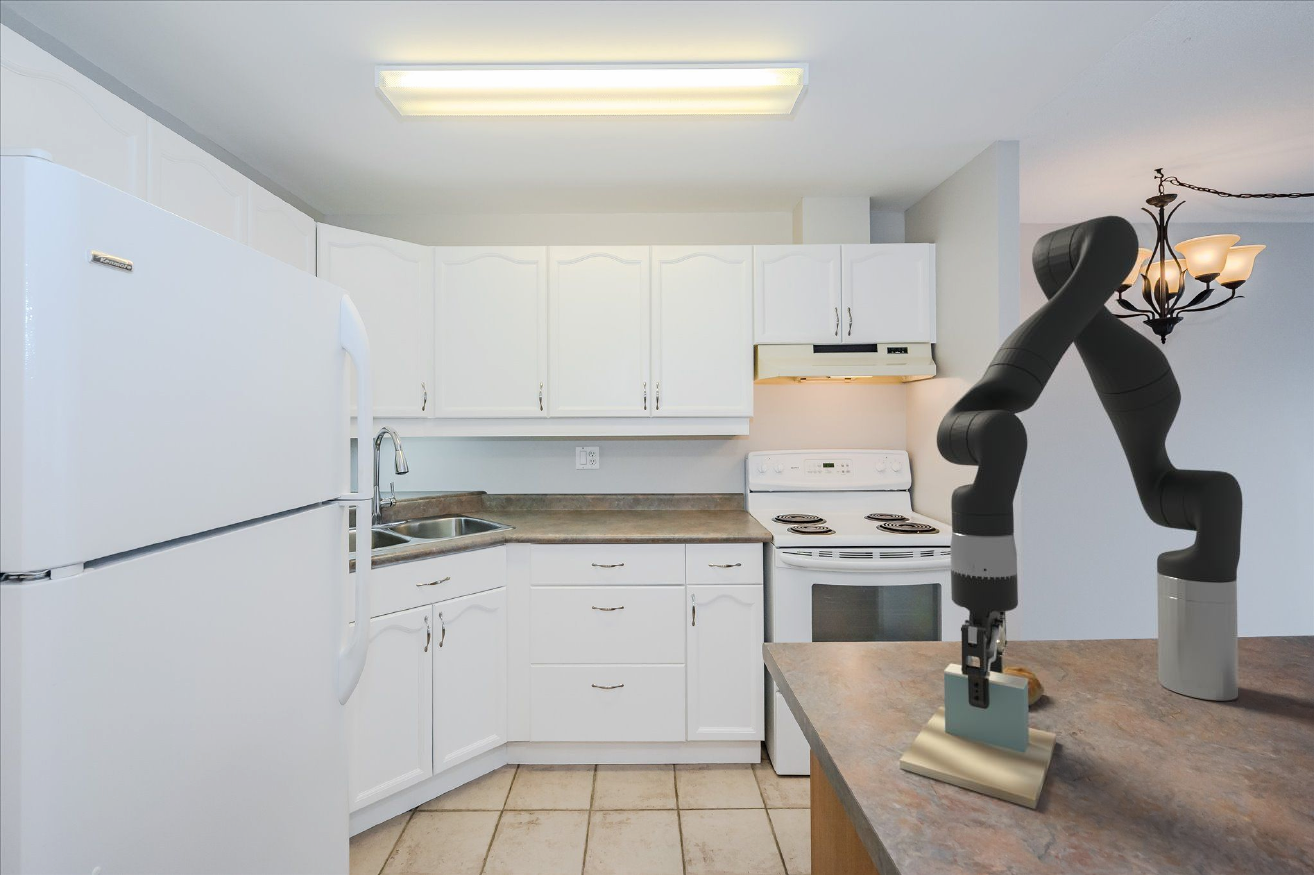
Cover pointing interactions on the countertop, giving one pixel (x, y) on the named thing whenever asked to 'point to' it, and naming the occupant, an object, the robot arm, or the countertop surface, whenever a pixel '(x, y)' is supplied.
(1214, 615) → the robot arm
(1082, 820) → the countertop surface
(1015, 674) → the pastry
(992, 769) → the board
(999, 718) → the slab
